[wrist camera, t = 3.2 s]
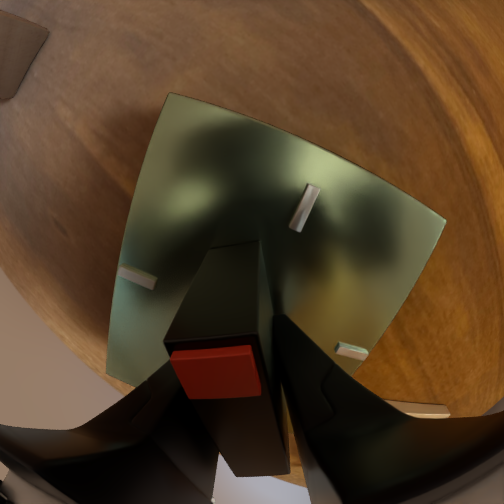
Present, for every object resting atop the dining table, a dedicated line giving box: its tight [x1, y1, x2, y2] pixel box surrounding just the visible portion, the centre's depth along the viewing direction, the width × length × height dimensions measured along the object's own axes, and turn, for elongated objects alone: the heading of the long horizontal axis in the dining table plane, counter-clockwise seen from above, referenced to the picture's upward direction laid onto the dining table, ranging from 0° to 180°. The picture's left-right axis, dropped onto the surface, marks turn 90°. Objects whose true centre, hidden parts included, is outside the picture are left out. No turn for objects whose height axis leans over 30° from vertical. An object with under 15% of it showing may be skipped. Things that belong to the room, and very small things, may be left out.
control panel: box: [106, 92, 447, 434], centre depth 11 cm, size 12×10×3 cm
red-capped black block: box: [163, 242, 290, 477], centre depth 7 cm, size 6×2×5 cm, turn 11°
